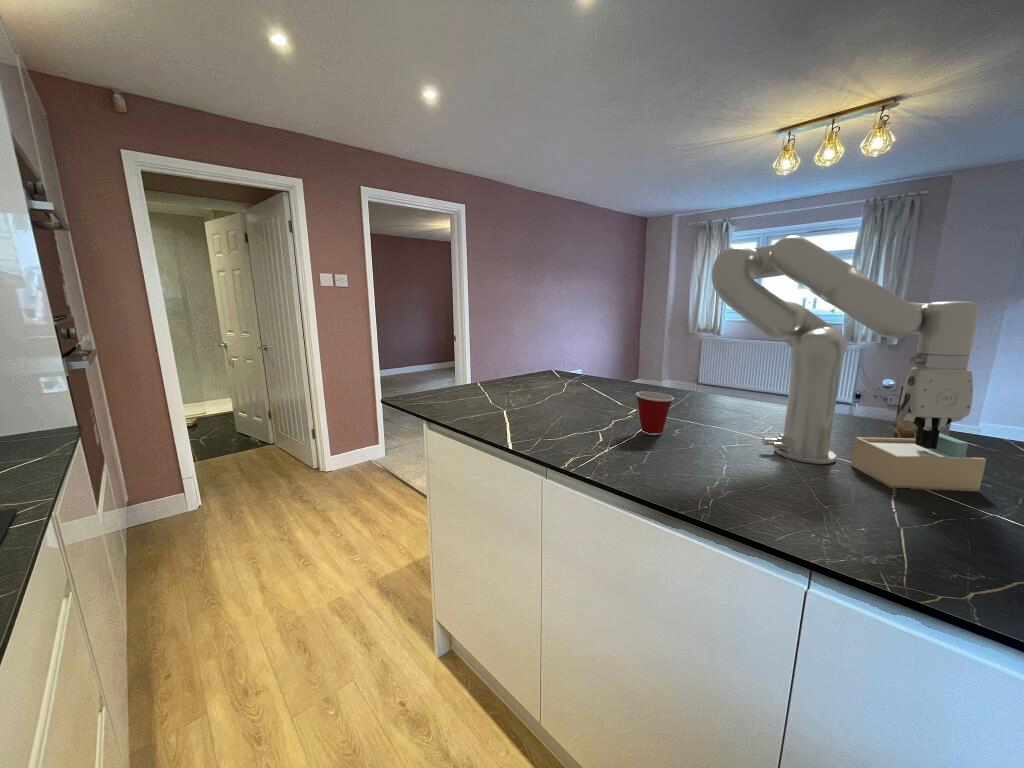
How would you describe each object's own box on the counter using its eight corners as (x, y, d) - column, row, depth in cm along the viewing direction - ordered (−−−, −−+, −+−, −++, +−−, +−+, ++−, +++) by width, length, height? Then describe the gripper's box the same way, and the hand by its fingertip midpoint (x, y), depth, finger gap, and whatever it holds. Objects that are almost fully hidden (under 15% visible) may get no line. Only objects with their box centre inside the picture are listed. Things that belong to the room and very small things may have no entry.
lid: (897, 461, 83) (900, 443, 82) (862, 444, 92) (864, 428, 91) (974, 463, 81) (978, 445, 80) (930, 446, 90) (933, 430, 90)
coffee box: (889, 443, 108) (899, 385, 105) (917, 444, 107) (928, 386, 104) (915, 455, 99) (927, 393, 96) (945, 457, 98) (959, 393, 95)
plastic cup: (677, 438, 115) (680, 398, 112) (640, 439, 115) (642, 398, 113) (664, 427, 125) (666, 390, 123) (629, 427, 126) (631, 390, 123)
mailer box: (890, 488, 83) (896, 456, 81) (850, 465, 94) (855, 437, 93) (978, 491, 81) (986, 459, 79) (926, 467, 92) (932, 438, 91)
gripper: (915, 365, 80) (900, 452, 83) (1001, 364, 78) (983, 454, 81) (886, 360, 87) (873, 440, 90) (964, 359, 85) (948, 441, 88)
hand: (925, 446), depth 86 cm, fingers closed
